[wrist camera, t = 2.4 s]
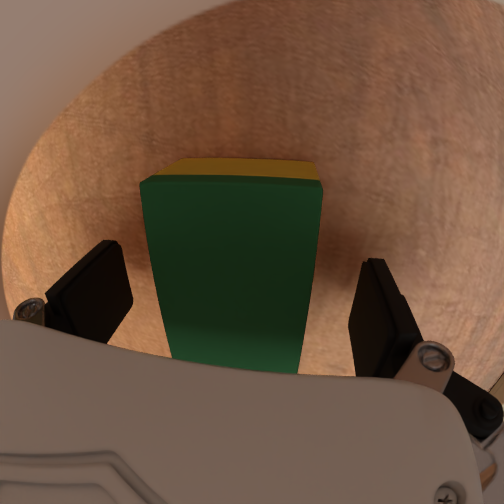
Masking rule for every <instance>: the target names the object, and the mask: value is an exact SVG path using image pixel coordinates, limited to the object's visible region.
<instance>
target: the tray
mask: <svg viewBox="0 0 504 504" xmlns="http://www.w3.org/2000/svg"><path fill="white" fill-rule="evenodd" d="M489 393H490V394H491V395H493V396H494V397H496V398H497V399H498V400H499V402H500V403H501V405H502V407H503V410H504V374H503V375H502V376H501V378H500V379H499V380H498V382H497V383H496V384H495V386H494V387H493V388H492V389H491V391H490V392H489ZM503 421H504V419H503Z"/></svg>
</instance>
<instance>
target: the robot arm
mask: <svg viewBox="0 0 504 504" xmlns="http://www.w3.org/2000/svg"><path fill="white" fill-rule="evenodd" d="M45 295H46V298H47V300H48V302H47V303H46V304H45V302H44V300H43V299H41V298H30V299H28V300H25V301H24V302H22V303H21V304H20V305H18V306H17V308H16V309H15V311H14V315H13V320H0V504H504V421H503V419H504V410H503V407H502V405H501V403H500V402H499V400H498V399H497V398H496V397H494V396H493V395H491V394H490V393H488V392H487V391H485V390H483V389H482V388H480V387H478V386H477V385H475V384H474V383H472V382H470V381H469V380H467V379H465V378H464V377H462V376H461V375H459V374H457V373H456V372H454V371H453V369H454V366H455V360H454V356H453V355H452V353H451V351H450V350H449V349H448V348H447V347H445V346H444V345H442V344H440V343H438V342H435V341H424V340H423V338H422V335H421V333H420V331H419V328H418V326H417V323H416V321H415V319H414V317H413V314H412V312H411V310H410V307H409V305H408V303H407V301H406V299H405V297H404V295H401V294H400V291H399V289H398V287H397V285H396V283H395V281H394V278H393V276H392V274H391V272H390V270H389V268H388V266H387V264H386V262H385V260H384V259H378V258H368V260H367V262H364V261H363V263H362V266H361V271H360V275H359V280H358V284H357V288H356V293H355V297H354V301H353V305H352V309H351V313H350V317H349V321H348V329H349V335H350V341H351V347H352V353H353V359H354V366H355V373H356V377H354V376H334V375H310V374H294V373H281V372H269V371H259V370H249V369H241V368H232V367H225V366H218V365H211V364H204V363H197V362H191V361H185V360H179V359H174V358H168V357H163V356H158V355H153V354H148V353H143V352H138V351H134V350H129V349H125V348H121V347H116V346H112V345H108V344H107V343H108V341H109V340H110V338H111V337H112V335H113V334H114V332H115V331H116V329H117V328H118V326H119V325H120V323H121V322H122V320H123V319H124V317H125V316H126V314H127V313H128V312H129V310H130V309H131V307H132V305H133V296H132V292H131V288H130V283H129V279H128V275H127V271H126V266H125V262H124V257H123V252H122V248H121V246H120V245H119V244H118V242H117V241H115V240H102V241H101V242H100V243H99V244H98V245H96V246H95V247H94V248H93V249H92V250H91V251H90V252H88V253H87V254H86V255H85V256H84V257H83V258H82V259H81V260H79V261H78V262H77V263H76V264H75V265H74V266H73V267H72V268H71V269H70V270H69V271H67V272H66V273H65V274H64V275H63V276H62V277H61V278H60V279H59V280H58V281H57V282H56V283H55V284H54V285H53V286H52V287H51V288H50V289H49V290H48V291H47V292H46V293H45Z"/></svg>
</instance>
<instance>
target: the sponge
mask: <svg viewBox="0 0 504 504" xmlns="http://www.w3.org/2000/svg"><path fill="white" fill-rule="evenodd" d="M140 194H141V202H142V210H143V217H144V224H145V230H146V237H147V243H148V249H149V255H150V261H151V266H152V271H153V277H154V282H155V287H156V292H157V296H158V301H159V306H160V310H161V315H162V319H163V323H164V328H165V332H166V336H167V340H168V344H169V348H170V352H171V355H172V358H174V359H179V360H185V361H191V362H197V363H204V364H211V365H218V366H225V367H232V368H241V369H249V370H259V371H269V372H281V373H294V374H297V372H298V367H299V362H300V356H301V351H302V345H303V340H304V334H305V328H306V322H307V316H308V309H309V303H310V296H311V289H312V282H313V275H314V268H315V260H316V252H317V244H318V235H319V226H320V217H321V207H322V197H323V188H322V185H321V182H320V179H319V176H318V173H317V170H316V167H315V164H314V162H307V161H292V160H275V159H249V158H182V159H180V160H178V161H176V162H175V163H173V164H171V165H169V166H167V167H166V168H164V169H162V170H160V171H159V172H157V173H155V174H154V175H152V176H150V177H148V178H147V179H145V180H143V181H142V182H140Z"/></svg>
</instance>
